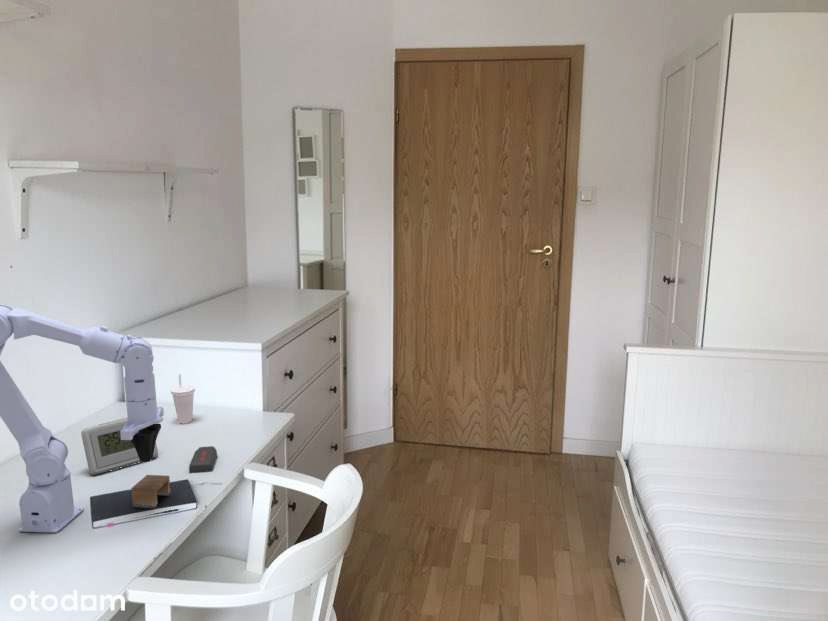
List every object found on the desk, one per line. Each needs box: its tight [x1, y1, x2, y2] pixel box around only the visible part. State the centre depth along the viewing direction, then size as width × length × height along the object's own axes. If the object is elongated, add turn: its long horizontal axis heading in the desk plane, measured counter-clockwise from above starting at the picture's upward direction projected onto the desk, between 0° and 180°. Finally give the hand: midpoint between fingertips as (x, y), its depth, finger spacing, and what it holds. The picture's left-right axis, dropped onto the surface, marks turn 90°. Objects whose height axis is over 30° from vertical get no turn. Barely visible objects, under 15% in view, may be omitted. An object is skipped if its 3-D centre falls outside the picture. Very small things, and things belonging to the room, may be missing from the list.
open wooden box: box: [131, 474, 171, 506], centre depth 139 cm, size 4×5×6 cm
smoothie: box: [170, 373, 196, 424], centre depth 185 cm, size 6×6×14 cm
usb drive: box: [188, 445, 218, 474], centre depth 158 cm, size 5×12×3 cm, turn 9°
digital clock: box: [80, 417, 159, 476], centre depth 157 cm, size 16×9×11 cm, turn 122°
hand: (146, 460), depth 137 cm, fingers closed
